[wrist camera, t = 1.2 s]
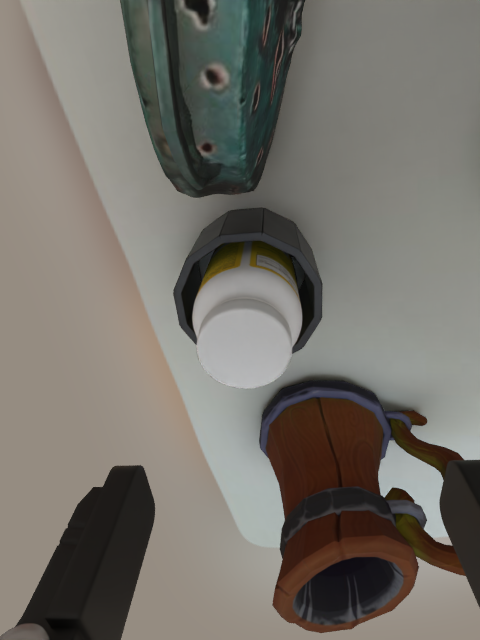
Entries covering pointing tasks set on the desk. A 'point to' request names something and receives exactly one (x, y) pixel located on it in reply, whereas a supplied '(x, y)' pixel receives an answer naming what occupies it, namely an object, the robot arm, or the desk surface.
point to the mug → (345, 505)
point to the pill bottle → (247, 314)
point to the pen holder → (245, 229)
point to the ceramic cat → (211, 85)
